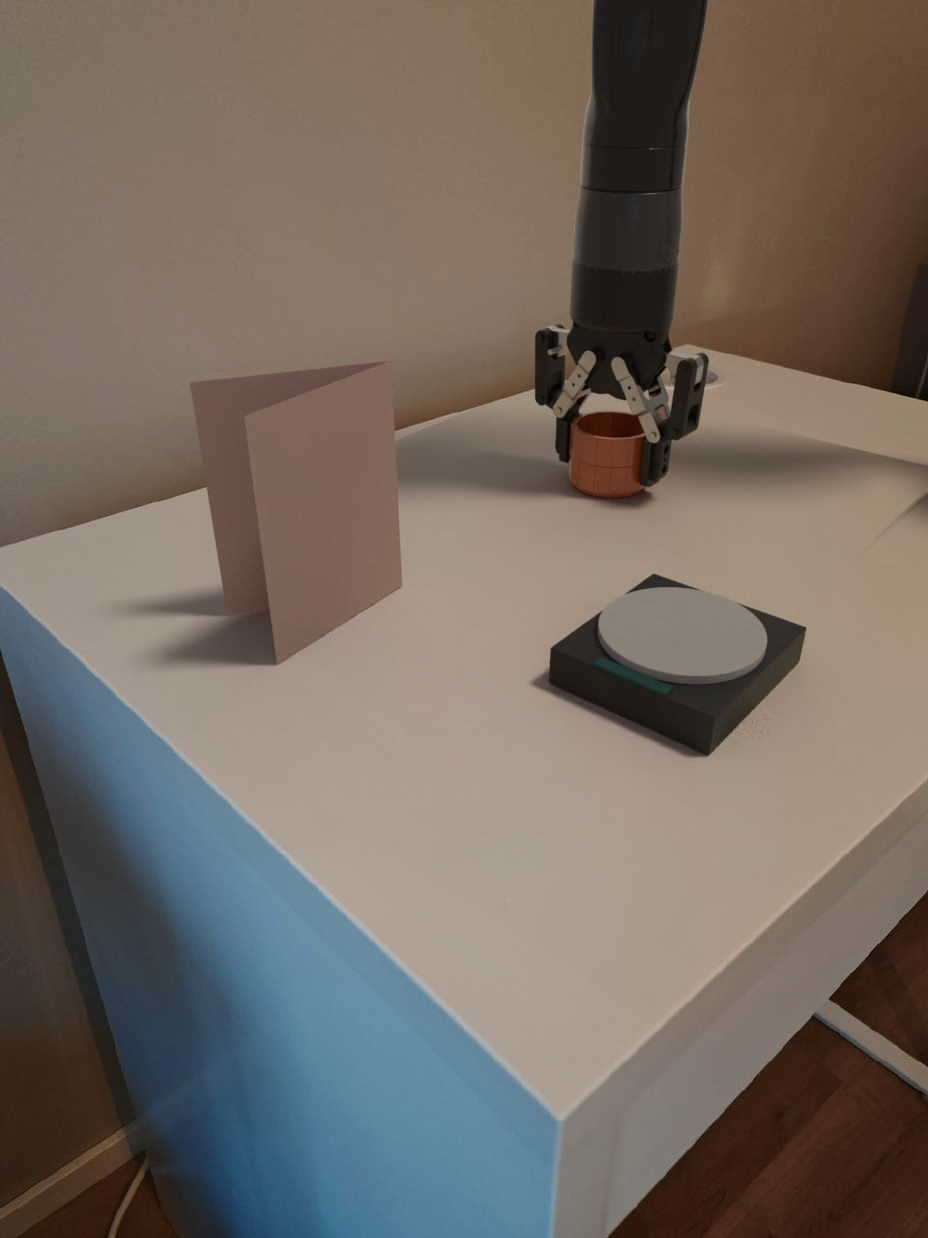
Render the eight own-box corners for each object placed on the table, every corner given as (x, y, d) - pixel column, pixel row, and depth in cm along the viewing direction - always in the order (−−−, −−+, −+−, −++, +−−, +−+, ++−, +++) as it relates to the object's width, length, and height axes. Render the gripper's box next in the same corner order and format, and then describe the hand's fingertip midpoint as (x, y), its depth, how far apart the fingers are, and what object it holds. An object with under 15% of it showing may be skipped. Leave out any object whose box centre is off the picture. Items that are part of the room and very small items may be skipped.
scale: (649, 605, 61) (654, 564, 60) (800, 661, 56) (809, 617, 54) (548, 683, 54) (550, 638, 53) (708, 756, 49) (716, 708, 47)
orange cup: (597, 462, 82) (601, 404, 79) (663, 481, 78) (670, 422, 75) (552, 486, 77) (555, 426, 75) (620, 507, 74) (626, 445, 71)
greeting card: (398, 579, 65) (387, 356, 57) (431, 635, 59) (423, 395, 51) (225, 608, 61) (188, 377, 54) (241, 671, 56) (201, 421, 48)
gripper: (743, 258, 67) (712, 479, 76) (572, 235, 75) (562, 437, 84) (690, 277, 62) (663, 511, 71) (513, 250, 70) (509, 463, 79)
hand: (608, 470), depth 77 cm, fingers open, 7 cm apart
